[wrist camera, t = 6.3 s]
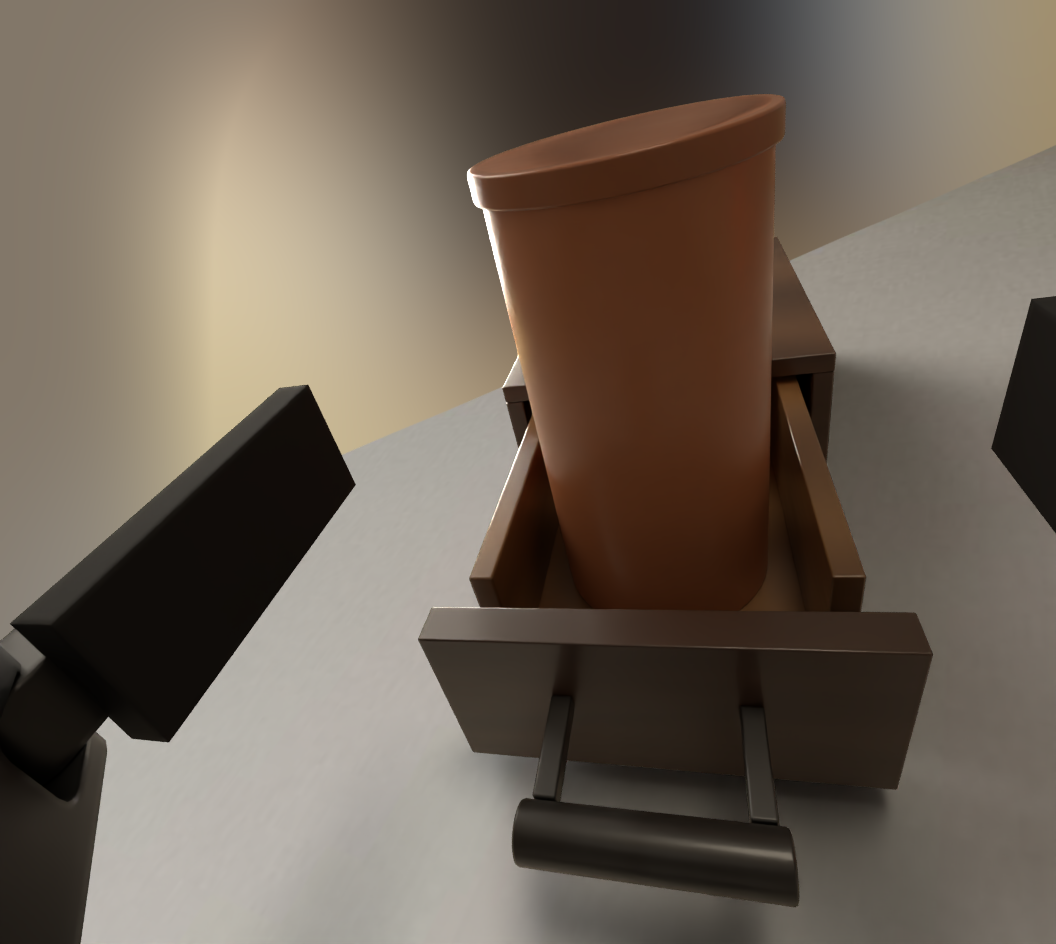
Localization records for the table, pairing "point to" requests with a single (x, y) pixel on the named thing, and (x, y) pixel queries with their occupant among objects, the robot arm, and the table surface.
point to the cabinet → (793, 353)
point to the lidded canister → (648, 342)
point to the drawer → (682, 682)
